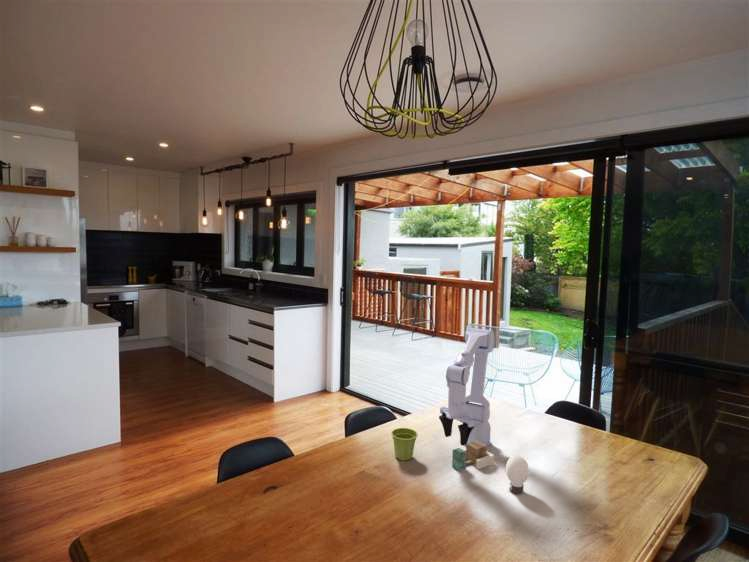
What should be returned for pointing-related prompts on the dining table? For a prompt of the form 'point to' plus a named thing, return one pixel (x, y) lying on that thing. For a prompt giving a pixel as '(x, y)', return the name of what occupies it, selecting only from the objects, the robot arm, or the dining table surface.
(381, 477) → the dining table surface
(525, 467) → the light bulb
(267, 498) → the dining table surface
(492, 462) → the shelf lane
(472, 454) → the tethered block
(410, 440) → the plant pot
